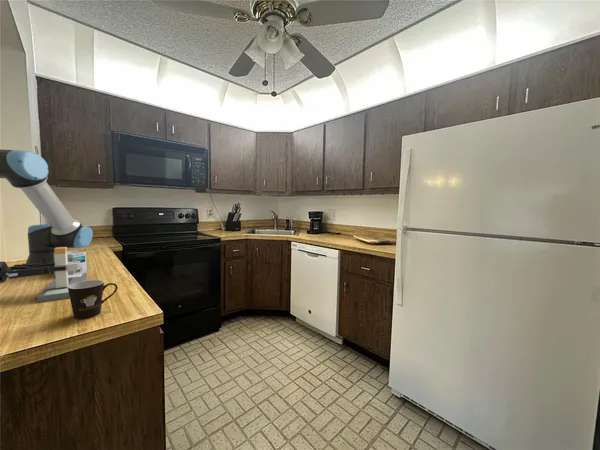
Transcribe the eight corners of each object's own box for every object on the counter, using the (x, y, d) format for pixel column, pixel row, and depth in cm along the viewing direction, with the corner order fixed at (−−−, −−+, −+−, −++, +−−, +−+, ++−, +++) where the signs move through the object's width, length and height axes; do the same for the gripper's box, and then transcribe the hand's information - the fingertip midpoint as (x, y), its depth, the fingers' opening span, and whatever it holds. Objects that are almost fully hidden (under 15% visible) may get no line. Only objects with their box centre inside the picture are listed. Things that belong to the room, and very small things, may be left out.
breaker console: (57, 280, 107) (57, 275, 107) (87, 277, 113) (86, 273, 113) (37, 302, 85) (37, 296, 84) (76, 297, 90) (75, 291, 90)
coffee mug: (64, 323, 71) (62, 290, 70) (74, 311, 79) (73, 281, 78) (113, 316, 76) (112, 285, 76) (118, 305, 84) (117, 277, 83)
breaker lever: (58, 285, 94) (56, 247, 93) (68, 284, 96) (66, 246, 95) (56, 288, 92) (54, 248, 91) (66, 286, 94) (65, 248, 93)
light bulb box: (87, 272, 121) (86, 251, 120) (73, 276, 114) (72, 254, 113) (68, 271, 122) (67, 250, 121) (53, 275, 115) (52, 253, 114)
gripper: (-2, 277, 90) (82, 270, 103) (-25, 291, 77) (75, 280, 90) (-3, 258, 89) (82, 252, 103) (-27, 267, 76) (74, 260, 89)
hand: (78, 265), depth 96 cm, fingers closed on breaker lever, 3 cm apart
